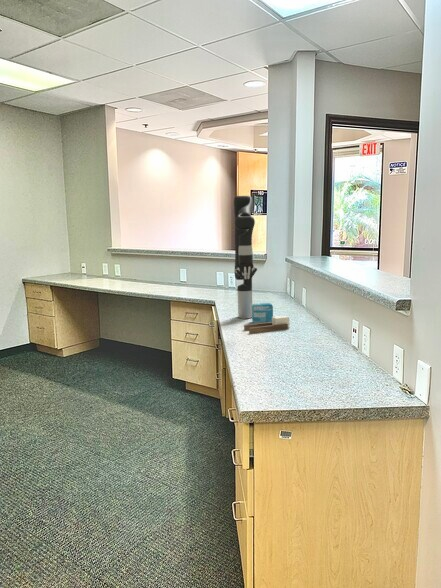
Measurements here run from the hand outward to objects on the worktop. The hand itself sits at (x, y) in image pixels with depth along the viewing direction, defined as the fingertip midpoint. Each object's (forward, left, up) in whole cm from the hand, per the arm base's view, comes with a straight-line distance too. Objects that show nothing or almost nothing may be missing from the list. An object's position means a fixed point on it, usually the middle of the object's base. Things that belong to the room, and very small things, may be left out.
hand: (246, 285), depth 230 cm
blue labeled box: (-11, +14, -25) cm, 31 cm away
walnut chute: (+7, +8, -25) cm, 27 cm away
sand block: (+7, +17, -24) cm, 30 cm away
